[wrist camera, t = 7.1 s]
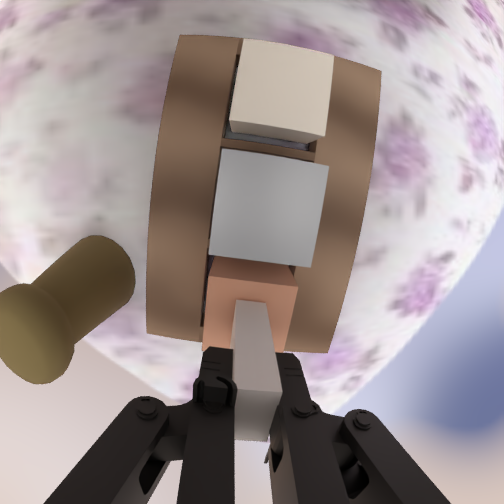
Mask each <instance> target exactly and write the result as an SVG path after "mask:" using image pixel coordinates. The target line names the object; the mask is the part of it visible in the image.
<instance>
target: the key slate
mask: <svg viewBox="0 0 504 504" xmlns="http://www.w3.org/2000/svg"><path fill="white" fill-rule="evenodd" d="M328 171H329V166H326V165H321V164H316V163H311V162H306V161H301V160H295V159H290V158H284V157H278V156H272V155H266V154H260V153H253V152H246V151H238V150H231V149H222V153H221V160H220V167H219V174H218V181H217V189H216V196H215V204H214V212H213V220H212V228H211V237H210V246H209V255H216V256H224V257H231V258H239V259H247V260H254V261H262V262H270V263H278V264H286V265H294V266H302V267H309V268H311V263H312V259H313V254H314V249H315V244H316V239H317V234H318V228H319V223H320V218H321V212H322V207H323V201H324V195H325V189H326V183H327V177H328Z"/></svg>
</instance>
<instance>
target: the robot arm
mask: <svg viewBox="0 0 504 504" xmlns="http://www.w3.org/2000/svg"><path fill="white" fill-rule="evenodd" d="M269 434H270V446H269V449H268V452H267V455H266V457H265V462H264V463H267V462H268V460H269V468H270V479H271V489H272V499H273V504H451V503H450V502H449V501H448V500H447V498H446V497H445V496H444V495H443V494H442V493H441V491H440V490H439V489H438V488H437V487H436V486H435V485H434V483H433V482H432V481H431V480H430V479H429V477H428V476H427V475H426V474H425V473H424V472H423V471H422V469H421V468H420V467H419V466H418V465H417V463H416V462H415V461H414V460H413V459H412V458H411V456H410V455H409V454H408V453H407V452H406V451H405V449H404V448H403V447H402V446H401V445H400V443H399V442H398V441H397V440H396V439H395V438H394V436H393V435H392V434H391V433H390V432H389V431H388V429H387V428H386V427H385V426H384V425H383V423H382V422H381V421H380V420H379V419H378V418H377V417H376V416H375V415H374V414H373V413H371V412H369V411H367V410H362V409H357V410H352V411H350V412H348V413H347V414H346V416H345V417H340V416H335V415H330V414H327V413H324V412H322V410H321V408H320V407H319V405H318V404H316V403H315V402H314V401H312V400H311V398H310V394H309V391H308V388H307V384H306V381H305V377H304V374H303V371H302V367H301V364H300V361H299V360H298V359H297V357H296V356H295V355H294V354H293V353H279V352H275V349H274V343H273V338H272V333H271V328H270V322H269V317H268V312H267V306H266V303H262V302H253V301H245V300H237V299H236V305H235V312H234V320H233V327H232V334H231V342H230V349H228V348H220V347H212V346H209V347H208V348H207V349H206V350H205V351H204V352H203V356H202V362H201V367H200V373H199V377H198V378H197V379H196V380H195V382H194V384H193V399H192V400H190V401H189V402H188V403H185V404H182V405H177V406H166V405H165V404H164V403H163V402H162V401H161V400H159V399H157V398H154V397H150V396H140V397H137V398H134V399H133V400H132V401H130V402H129V403H128V404H127V405H126V406H125V407H124V409H123V410H122V411H121V412H120V413H119V414H118V416H117V417H116V418H115V419H114V420H113V422H112V423H111V424H110V425H109V426H108V428H107V429H106V430H105V431H104V432H103V434H102V435H101V436H100V437H99V438H98V440H97V441H96V442H95V443H94V444H93V445H92V447H91V448H90V449H89V450H88V451H87V453H86V454H85V455H84V456H83V457H82V459H81V460H80V461H79V462H78V463H77V465H76V466H75V467H74V468H73V469H72V470H71V472H70V473H69V474H68V475H67V477H66V478H65V479H64V480H63V481H62V482H61V484H60V485H59V486H58V487H57V488H56V489H55V491H54V492H53V493H52V494H51V495H50V497H49V498H48V499H47V500H46V501H45V503H44V504H147V503H148V501H149V499H150V497H151V496H152V494H153V492H154V490H155V488H156V487H157V485H158V483H159V481H160V479H161V478H162V476H163V474H164V472H165V470H166V469H167V467H168V465H169V463H170V461H174V460H183V463H182V470H181V476H180V483H179V490H178V497H177V504H235V501H234V500H235V489H234V488H235V486H234V485H235V484H234V440H244V441H266V442H267V440H268V437H269Z"/></svg>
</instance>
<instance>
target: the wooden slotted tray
mask: <svg viewBox="0 0 504 504" xmlns="http://www.w3.org/2000/svg"><path fill="white" fill-rule="evenodd" d="M243 40H244V38H235V37H224V36H208V35H180V36H179V40H178V44H177V47H176V51H175V55H174V59H173V64H172V68H171V72H170V77H169V81H168V86H167V91H166V96H165V101H164V107H163V112H162V118H161V124H160V130H159V136H158V143H157V150H156V157H155V165H154V173H153V182H152V191H151V202H150V214H149V228H148V245H147V271H146V327H147V333H148V334H153V335H159V336H164V337H170V338H176V339H183V340H189V341H196V342H203V331H204V319H205V313H203V311H204V299H205V289H206V278H207V269H208V259H209V246H210V237H211V228H212V220H213V212H214V204H215V196H216V189H217V181H218V174H219V167H220V160H221V153H222V149H231V150H238V151H246V152H253V153H260V154H266V155H272V156H278V157H284V158H290V159H295V160H301V161H306V162H311V163H316V164H321V165H326V166H329V171H328V177H327V183H326V189H325V195H324V201H323V207H322V212H321V218H320V223H319V228H318V234H317V239H316V244H315V249H314V254H313V259H312V263H311V268H309V267H302V266H294V265H289V269H290V271H291V273H292V275H293V277H294V279H295V281H296V283H297V285H298V291H297V295H296V300H295V304H294V309H293V313H292V318H291V322H290V326H289V330H288V335H287V339H286V343H285V347H284V351H292V352H310V353H328V350H329V347H330V344H331V341H332V338H333V335H334V332H335V328H336V325H337V322H338V318H339V315H340V311H341V308H342V304H343V301H344V297H345V294H346V290H347V286H348V282H349V278H350V274H351V270H352V266H353V262H354V258H355V254H356V249H357V245H358V240H359V236H360V231H361V226H362V221H363V216H364V211H365V206H366V200H367V195H368V189H369V183H370V177H371V170H372V163H373V156H374V149H375V141H376V132H377V123H378V113H379V101H380V87H381V71H380V70H377V69H374V68H371V67H368V66H365V65H363V64H359V63H356V62H353V61H350V60H347V59H343V58H340V57H336V56H334V63H333V73H332V83H331V92H330V100H329V109H328V117H327V124H326V132H325V137H322V138H320V139H317V140H315V141H313V142H310V144H309V151H303V150H298V149H293V148H287V147H282V146H276V145H270V144H263V143H257V142H250V141H243V140H235V139H227V138H224V137H225V130H226V124H227V118H228V112H229V106H230V100H231V94H232V88H233V83H234V77H235V72H236V66H237V65H238V66H239V61H240V55H241V50H242V45H243Z"/></svg>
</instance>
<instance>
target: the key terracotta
mask: <svg viewBox="0 0 504 504" xmlns="http://www.w3.org/2000/svg"><path fill="white" fill-rule="evenodd" d="M297 291H298V285H297V283H296V281H295V279H294V277H293V275H292V273H291V271H290V269H289V267H288V265H286V264H278V263H270V262H262V261H254V260H247V259H239V258H231V257H224V256H216V255H215V257H214V260H213V263H212V266H211V269H210V273H209V276H208V286H207V297H206V307H205V319H204V331H203V343H202V351H205V350H206V349H207V348H208V347H209V346H212V347H220V348H228V349H230V342H231V334H232V327H233V320H234V312H235V305H236V299H237V300H245V301H253V302H262V303H266V306H267V312H268V317H269V322H270V328H271V333H272V338H273V343H274V349H275V352H279V353H283V351H284V347H285V343H286V339H287V335H288V330H289V326H290V322H291V318H292V313H293V309H294V304H295V300H296V295H297Z"/></svg>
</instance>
